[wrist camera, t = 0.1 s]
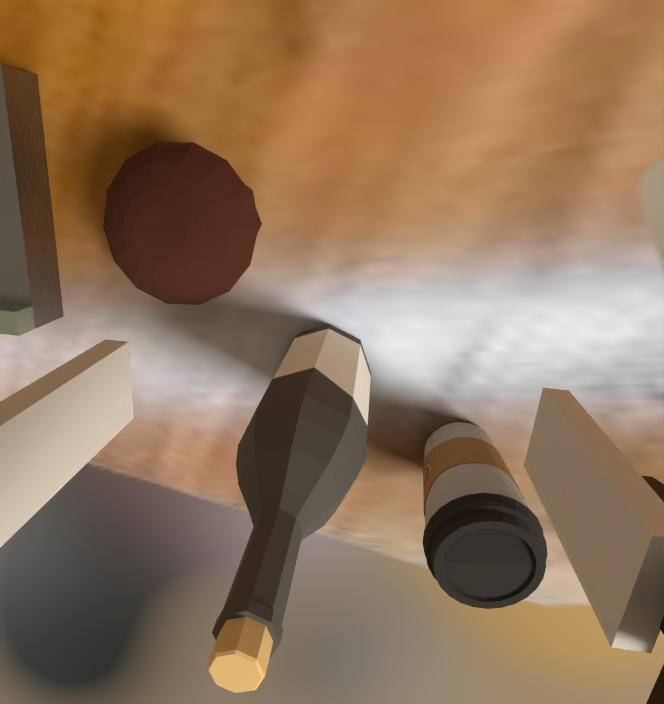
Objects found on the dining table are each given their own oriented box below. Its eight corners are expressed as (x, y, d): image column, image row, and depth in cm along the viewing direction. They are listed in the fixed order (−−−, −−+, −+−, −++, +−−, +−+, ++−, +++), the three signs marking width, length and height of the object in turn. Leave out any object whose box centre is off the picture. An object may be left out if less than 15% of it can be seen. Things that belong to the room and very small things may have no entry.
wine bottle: (265, 359, 46) (78, 650, 18) (331, 305, 44) (236, 542, 16) (322, 421, 48) (234, 778, 19) (389, 372, 45) (398, 698, 17)
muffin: (196, 114, 40) (138, 95, 30) (303, 209, 41) (279, 219, 32) (120, 230, 43) (47, 245, 34) (220, 312, 45) (177, 349, 36)
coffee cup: (412, 410, 46) (424, 513, 32) (505, 408, 45) (559, 513, 31) (414, 487, 49) (425, 613, 35) (501, 486, 48) (550, 616, 34)
